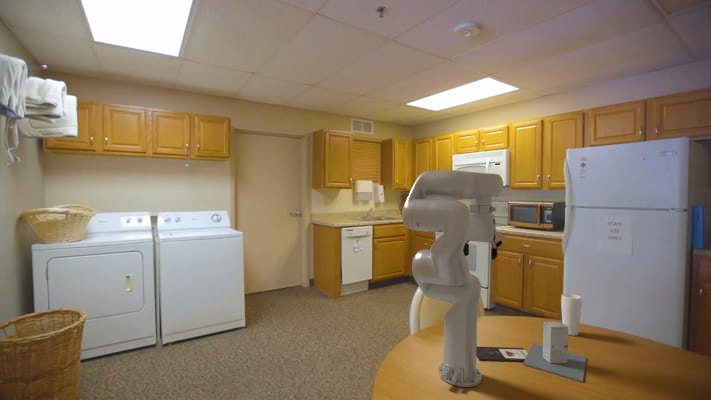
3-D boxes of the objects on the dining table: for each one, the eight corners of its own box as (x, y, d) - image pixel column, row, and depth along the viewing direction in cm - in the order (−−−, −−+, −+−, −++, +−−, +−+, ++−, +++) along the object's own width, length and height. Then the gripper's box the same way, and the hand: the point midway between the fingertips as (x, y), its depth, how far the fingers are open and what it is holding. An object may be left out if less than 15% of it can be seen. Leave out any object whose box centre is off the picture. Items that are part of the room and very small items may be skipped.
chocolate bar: (471, 346, 118) (522, 347, 117) (471, 348, 118) (522, 350, 117) (479, 359, 109) (535, 361, 108) (479, 361, 109) (535, 363, 108)
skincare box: (550, 363, 106) (551, 326, 106) (541, 356, 110) (542, 321, 110) (568, 363, 106) (569, 326, 106) (559, 356, 111) (560, 321, 110)
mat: (582, 382, 96) (582, 381, 96) (523, 364, 106) (523, 363, 106) (586, 358, 111) (586, 356, 111) (533, 344, 121) (533, 343, 120)
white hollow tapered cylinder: (584, 337, 127) (585, 298, 126) (567, 337, 127) (568, 298, 126) (573, 329, 134) (574, 293, 133) (556, 329, 134) (557, 293, 133)
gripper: (508, 210, 116) (507, 258, 117) (460, 208, 127) (460, 252, 127) (503, 211, 110) (502, 262, 111) (453, 209, 121) (452, 255, 121)
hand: (479, 257), depth 119 cm, fingers open, 9 cm apart
